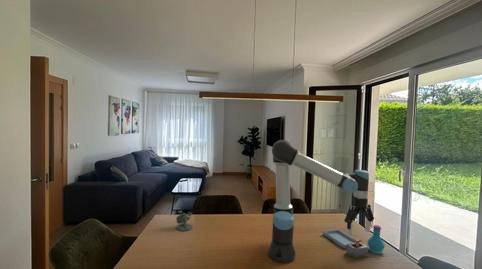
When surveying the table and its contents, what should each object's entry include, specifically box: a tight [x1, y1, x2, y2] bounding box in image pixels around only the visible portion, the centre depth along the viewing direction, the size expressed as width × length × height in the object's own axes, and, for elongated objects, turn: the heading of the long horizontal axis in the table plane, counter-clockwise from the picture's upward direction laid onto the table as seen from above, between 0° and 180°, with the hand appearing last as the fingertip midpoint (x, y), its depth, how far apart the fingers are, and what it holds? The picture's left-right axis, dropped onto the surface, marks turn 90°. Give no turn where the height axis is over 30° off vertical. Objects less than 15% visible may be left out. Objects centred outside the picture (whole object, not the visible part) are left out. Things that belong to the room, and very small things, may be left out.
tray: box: [322, 228, 357, 250], centre depth 159 cm, size 13×20×2 cm, turn 20°
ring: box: [345, 242, 369, 259], centre depth 142 cm, size 10×8×6 cm
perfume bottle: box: [367, 224, 385, 254], centre depth 147 cm, size 9×9×15 cm
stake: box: [355, 239, 363, 247], centre depth 142 cm, size 4×2×9 cm, turn 110°
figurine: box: [175, 210, 193, 232], centre depth 167 cm, size 11×11×12 cm
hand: (358, 233), depth 141 cm, fingers open, 13 cm apart
